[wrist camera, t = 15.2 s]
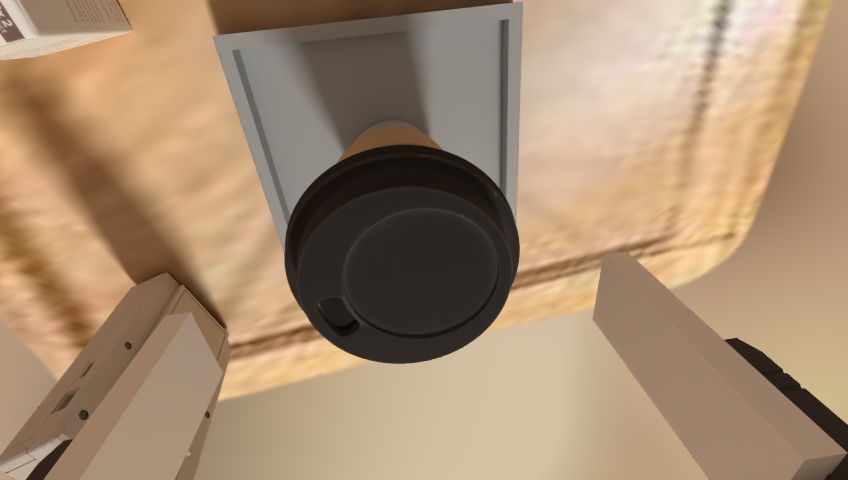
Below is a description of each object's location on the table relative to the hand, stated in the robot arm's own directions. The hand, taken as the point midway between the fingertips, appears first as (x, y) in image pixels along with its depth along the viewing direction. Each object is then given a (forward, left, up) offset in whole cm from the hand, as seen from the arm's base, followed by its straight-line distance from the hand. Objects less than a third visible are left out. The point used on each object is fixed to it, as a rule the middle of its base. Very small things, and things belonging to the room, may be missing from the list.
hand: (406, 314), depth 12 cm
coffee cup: (0, 0, -17) cm, 17 cm away
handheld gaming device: (+11, -18, -17) cm, 27 cm away
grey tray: (0, 0, -17) cm, 17 cm away
